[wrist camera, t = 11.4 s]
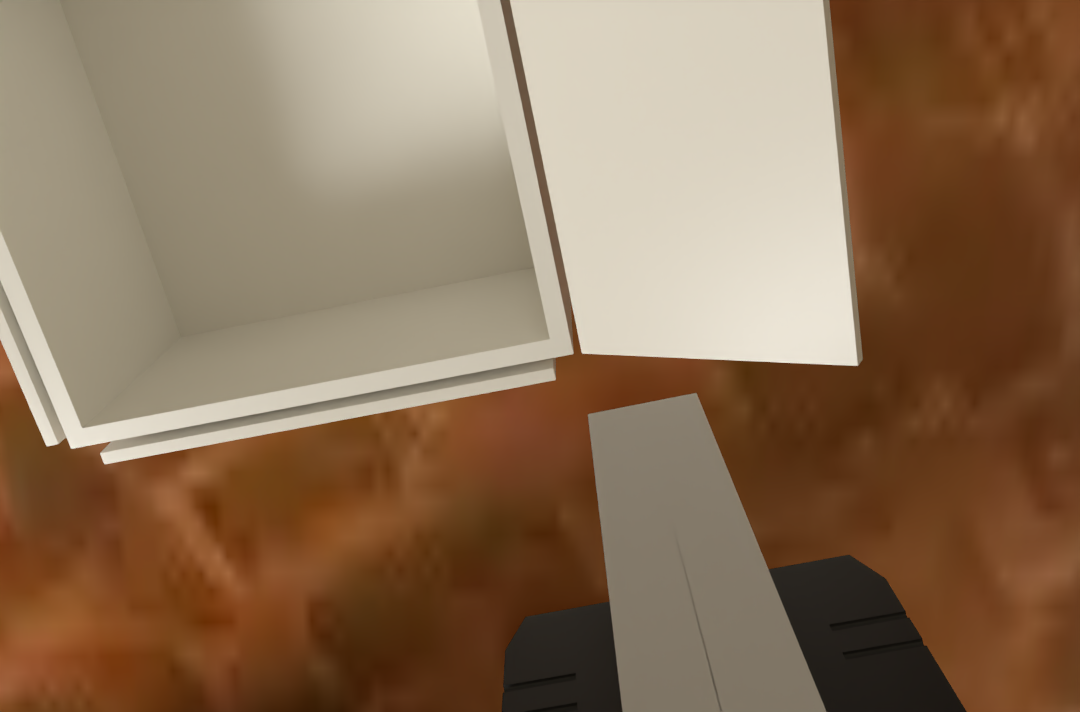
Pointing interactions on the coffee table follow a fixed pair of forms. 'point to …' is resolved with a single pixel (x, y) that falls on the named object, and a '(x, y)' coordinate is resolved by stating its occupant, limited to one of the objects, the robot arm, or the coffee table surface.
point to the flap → (696, 175)
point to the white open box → (268, 215)
